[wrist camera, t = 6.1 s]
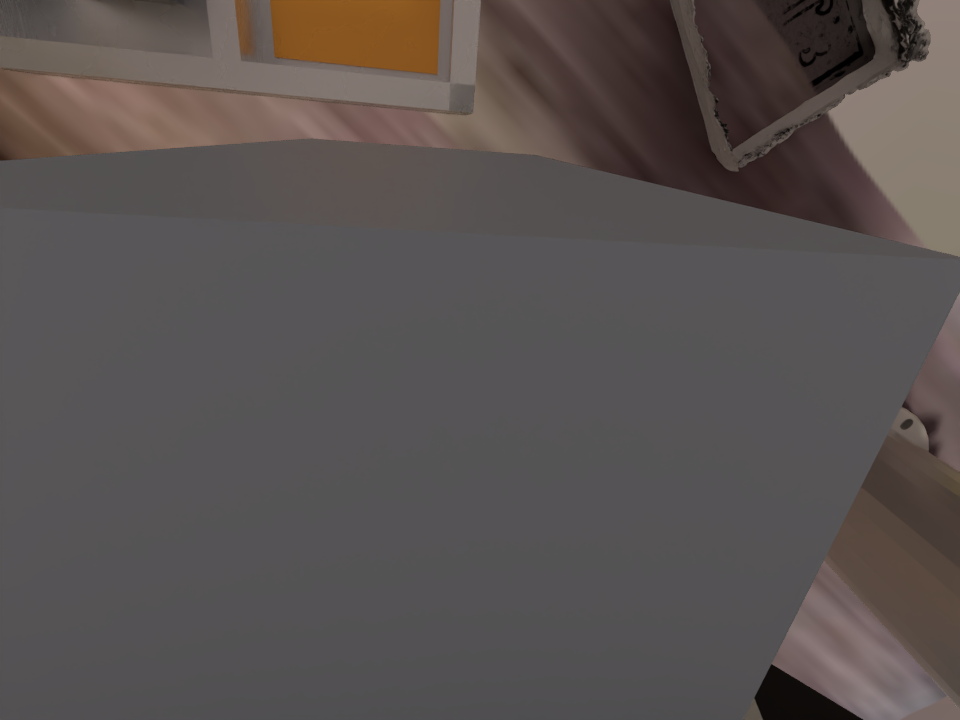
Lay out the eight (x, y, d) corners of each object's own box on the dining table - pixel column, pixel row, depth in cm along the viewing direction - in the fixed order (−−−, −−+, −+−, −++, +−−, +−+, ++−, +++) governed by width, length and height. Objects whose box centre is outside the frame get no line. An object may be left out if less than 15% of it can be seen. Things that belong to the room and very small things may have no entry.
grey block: (534, 154, 9) (975, 257, 2) (485, 605, 14) (545, 1109, 7) (310, 138, 8) (-374, 186, 1) (343, 610, 14) (244, 1155, 6)
